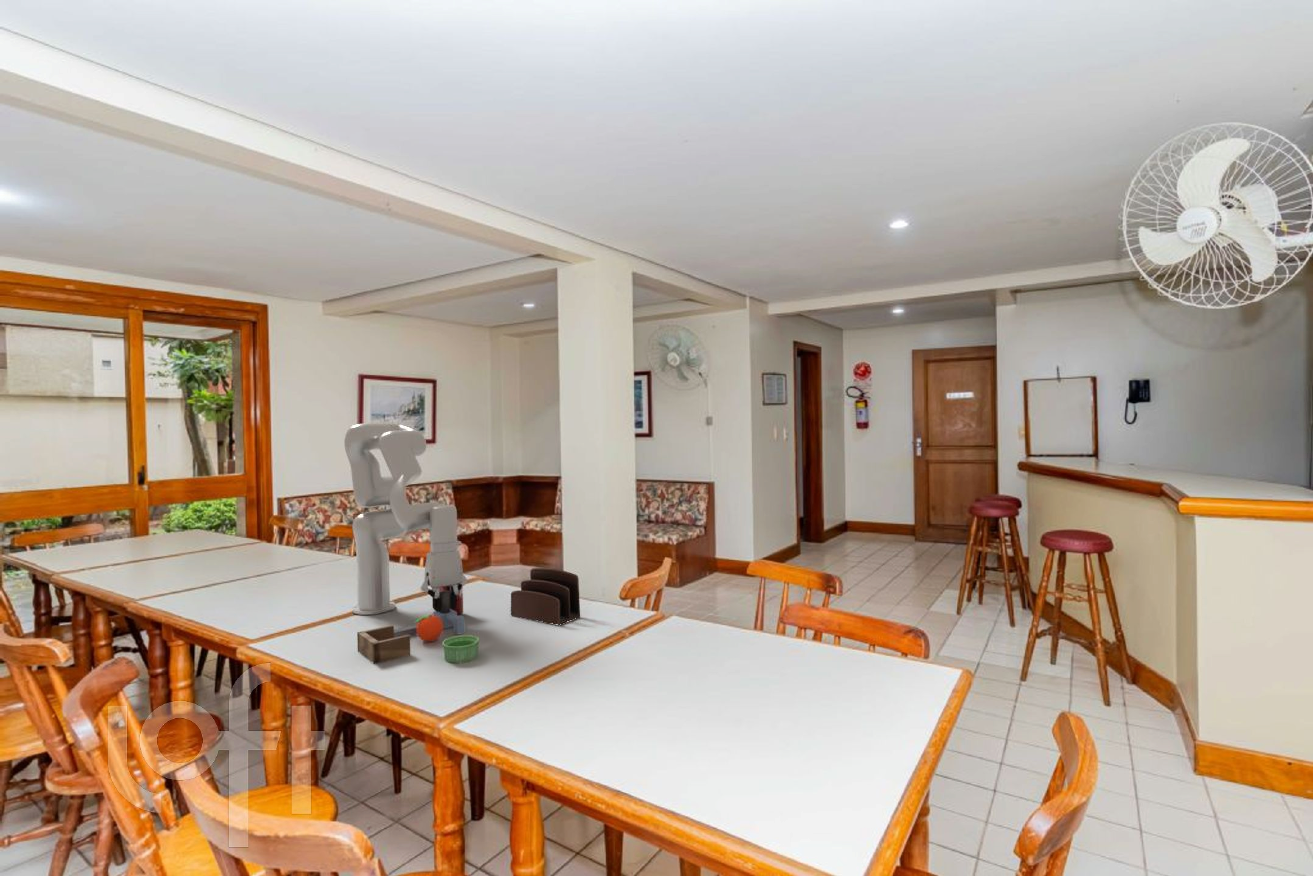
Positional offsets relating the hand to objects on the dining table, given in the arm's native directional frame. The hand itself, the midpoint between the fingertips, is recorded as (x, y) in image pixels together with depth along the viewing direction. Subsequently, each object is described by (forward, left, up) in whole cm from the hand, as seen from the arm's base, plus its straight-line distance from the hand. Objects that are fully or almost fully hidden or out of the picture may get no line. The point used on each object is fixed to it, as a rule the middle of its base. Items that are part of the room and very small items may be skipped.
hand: (444, 608), depth 189 cm
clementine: (+9, -9, -6) cm, 14 cm away
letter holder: (+12, +27, -6) cm, 30 cm away
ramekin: (+27, -8, -6) cm, 29 cm away
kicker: (+4, 0, -5) cm, 6 cm away
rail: (0, -8, -5) cm, 9 cm away
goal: (+10, -21, -5) cm, 24 cm away
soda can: (-9, +6, -6) cm, 12 cm away
